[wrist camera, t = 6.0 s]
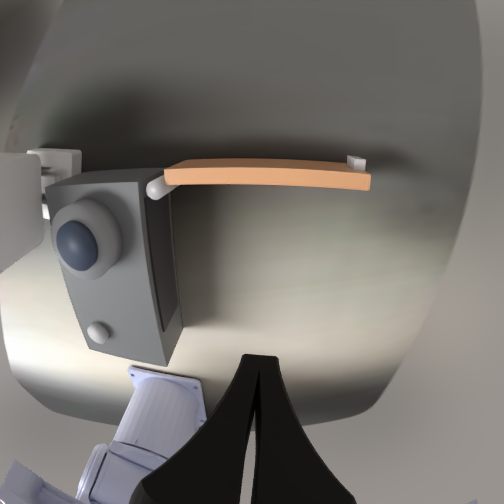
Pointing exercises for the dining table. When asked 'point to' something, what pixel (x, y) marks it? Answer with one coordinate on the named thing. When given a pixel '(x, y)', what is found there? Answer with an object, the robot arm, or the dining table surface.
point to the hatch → (262, 173)
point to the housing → (118, 261)
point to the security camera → (29, 197)
